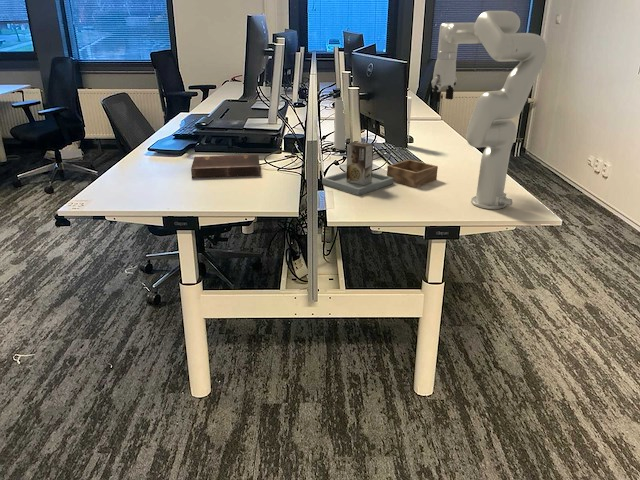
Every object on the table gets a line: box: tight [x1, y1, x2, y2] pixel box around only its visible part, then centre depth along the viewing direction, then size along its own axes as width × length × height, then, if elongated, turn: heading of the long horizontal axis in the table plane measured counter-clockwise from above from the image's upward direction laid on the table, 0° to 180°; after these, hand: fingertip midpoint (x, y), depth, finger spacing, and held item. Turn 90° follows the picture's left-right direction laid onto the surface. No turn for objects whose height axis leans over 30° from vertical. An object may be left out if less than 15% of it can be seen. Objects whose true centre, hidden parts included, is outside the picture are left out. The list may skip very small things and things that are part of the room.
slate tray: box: [321, 170, 395, 196], centre depth 216 cm, size 20×22×2 cm
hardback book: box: [190, 154, 261, 179], centre depth 232 cm, size 29×19×5 cm, turn 98°
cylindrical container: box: [407, 96, 413, 142], centre depth 273 cm, size 7×7×25 cm
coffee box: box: [346, 140, 374, 185], centre depth 213 cm, size 9×6×16 cm
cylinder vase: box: [333, 96, 347, 151], centre depth 268 cm, size 12×12×25 cm
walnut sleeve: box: [386, 159, 439, 188], centre depth 221 cm, size 15×15×6 cm
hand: (442, 100), depth 214 cm, fingers open, 9 cm apart
